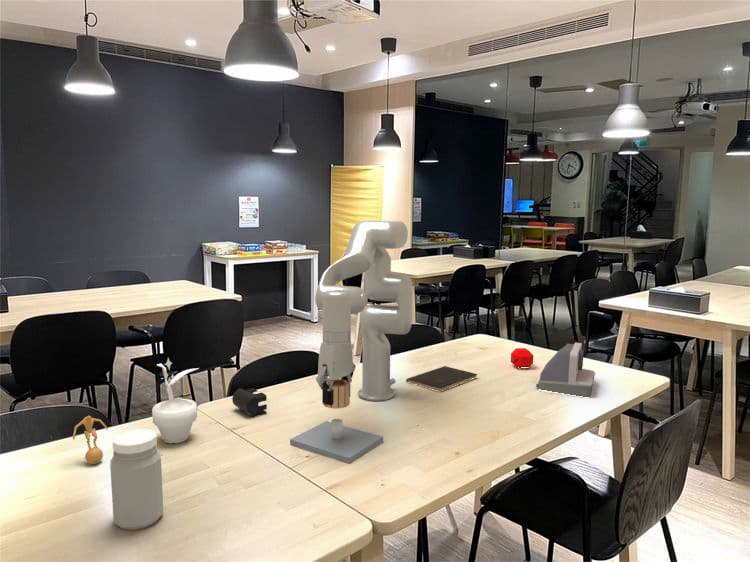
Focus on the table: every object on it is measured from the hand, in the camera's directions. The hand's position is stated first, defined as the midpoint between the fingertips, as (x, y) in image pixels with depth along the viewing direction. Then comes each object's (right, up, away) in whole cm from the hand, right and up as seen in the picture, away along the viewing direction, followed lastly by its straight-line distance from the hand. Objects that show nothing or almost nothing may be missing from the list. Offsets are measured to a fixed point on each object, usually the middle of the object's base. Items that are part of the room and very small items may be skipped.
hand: (336, 399), depth 152 cm
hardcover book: (+36, -6, +58) cm, 69 cm away
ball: (+70, -3, +76) cm, 103 cm away
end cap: (-29, -9, +25) cm, 39 cm away
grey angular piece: (+80, -7, +52) cm, 96 cm away
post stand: (0, -12, +2) cm, 12 cm away
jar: (-39, -17, -36) cm, 55 cm away
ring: (0, -1, 0) cm, 1 cm away
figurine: (-61, -14, -10) cm, 63 cm away
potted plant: (-44, -12, +4) cm, 46 cm away
